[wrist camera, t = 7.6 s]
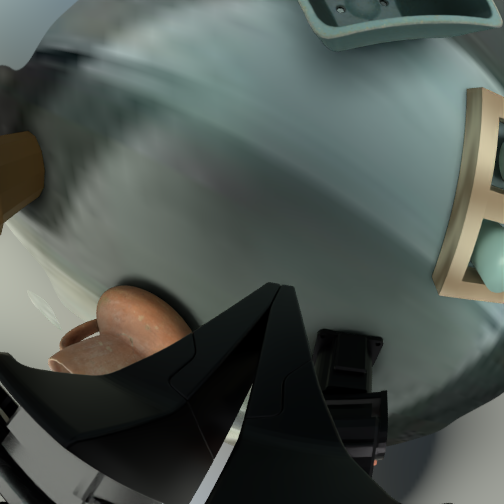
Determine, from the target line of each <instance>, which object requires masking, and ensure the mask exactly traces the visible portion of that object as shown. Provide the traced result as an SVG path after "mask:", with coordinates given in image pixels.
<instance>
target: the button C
mask: <svg viewBox="0 0 504 504" xmlns="http://www.w3.org/2000/svg"><path fill="white" fill-rule="evenodd" d="M499 169H500V173H501V176H502V179H503V181H504V142H503V143H502V146H501V149H500V153H499Z"/></svg>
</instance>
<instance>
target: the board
mask: <svg viewBox="0 0 504 504" xmlns="http://www.w3.org/2000/svg"><path fill="white" fill-rule="evenodd" d="M499 122H501V123H504V97H503V96H501V95H499V94H496V93H494V92H492V91H490V90H488V89H485V88H483V87H480V88H470V89H467V106H466V124H465V136H464V145H463V153H462V161H461V167H460V173H459V179H458V184H457V190H456V195H455V199H454V204H453V208H452V212H451V216H450V220H449V224H448V228H447V231H446V235H445V238H444V242H443V245H442V248H441V252H440V255H439V258H438V261H437V264H436V267H435V269H434V272H433V275H432V279H433V281H434V284H435V286H436V289H437V291H438V294H439V295H440V296H447V297H455V298H463V299H470V300H478V301H486V302H495V303H503V304H504V292H501V293H494V292H491V291H490V290H489V289H488V288H487V287H486V285H485V283H484V281H483V280H482V278H481V276H480V275H479V273H478V272H477V270H476V268H473V267H468V263H469V261H470V258H471V255H472V252H473V249H474V246H475V243H476V240H477V237H478V234H479V230H480V227H481V224H482V220H483V218H484V219H488V220H491V221H495V222H498V223H502V224H504V190H503V189H500V188H498V187H495V186H492V185H491V181H492V176H493V170H494V164H495V157H496V150H497V141H498V129H499Z"/></svg>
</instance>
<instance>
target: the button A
mask: <svg viewBox="0 0 504 504" xmlns="http://www.w3.org/2000/svg"><path fill="white" fill-rule="evenodd" d="M470 261H471V262H472V264H473V265H474V267H475V268H476V270H477V272H478V273H479V275H480V276H481V278H482V280H483V281H484V283H485V285H486V287H487V288H488V289H489V290H490V291H491V292H494V293H501V292H504V228H503V227H502V226H501V225H500V224H499V223H498V222H495V221H491V220H488V219H484V220H482V224H481V227H480V230H479V234H478V237H477V240H476V243H475V246H474V249H473V252H472V255H471V258H470Z"/></svg>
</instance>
